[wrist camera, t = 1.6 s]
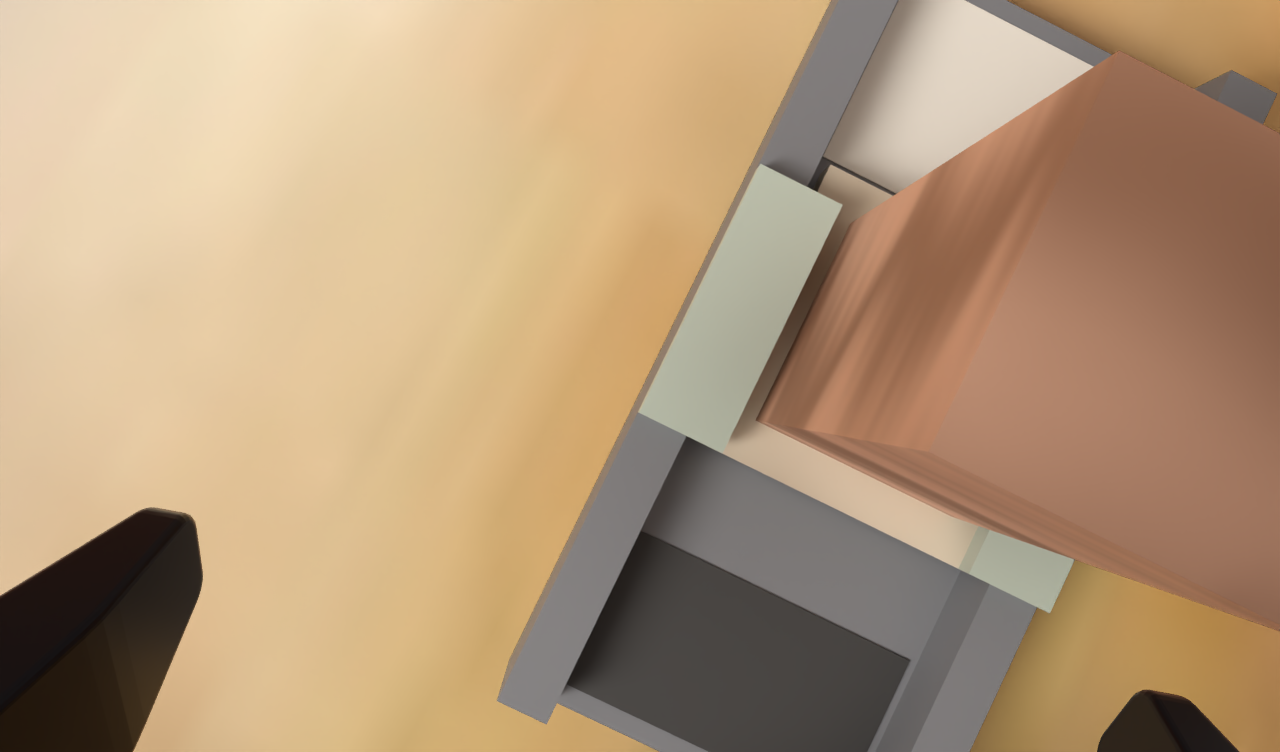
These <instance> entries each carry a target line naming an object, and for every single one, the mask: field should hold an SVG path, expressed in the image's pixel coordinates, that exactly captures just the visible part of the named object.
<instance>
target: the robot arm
mask: <svg viewBox="0 0 1280 752" xmlns="http://www.w3.org/2000/svg"><path fill="white" fill-rule="evenodd" d="M202 580H203V571H202V564H201V556H200V549H199V542H198V535H197V528H196V524H195V521H194V519H193V518H192V517H191V516H190V515H188V514H186V513H182V512H177V511H171V510H166V509H160V508H151V507H150V508H145V509H143V510H140V511H138V512H136V513H134V514H133V515H131V516H130V517H128V518H126V519H125V520H123V521H121V522H120V523H118V524H116V525H115V526H113V527H112V528H110V529H108V530H107V531H105V532H103V533H102V534H100V535H99V536H97V537H95V538H94V539H92V540H90V541H89V542H87V543H85V544H84V545H82V546H81V547H79V548H77V549H76V550H74V551H72V552H71V553H69V554H68V555H66V556H64V557H63V558H61V559H59V560H58V561H56V562H54V563H53V564H51V565H50V566H48V567H46V568H45V569H43V570H41V571H40V572H38V573H37V574H35V575H33V576H32V577H30V578H28V579H27V580H25V581H23V582H22V583H20V584H19V585H17V586H15V587H14V588H12V589H10V590H9V591H7V592H6V593H4V594H2V595H1V596H0V752H133V751H134V749H135V747H136V744H137V742H138V740H139V738H140V735H141V733H142V731H143V729H144V726H145V724H146V722H147V719H148V717H149V715H150V712H151V710H152V708H153V705H154V703H155V700H156V698H157V696H158V693H159V691H160V688H161V686H162V684H163V681H164V679H165V677H166V674H167V672H168V669H169V667H170V665H171V662H172V660H173V657H174V655H175V653H176V650H177V648H178V646H179V643H180V641H181V638H182V636H183V634H184V631H185V629H186V626H187V624H188V622H189V619H190V617H191V615H192V612H193V610H194V607H195V605H196V603H197V600H198V597H199V594H200V591H201V587H202ZM1097 752H1239V751H1238V750H1237V749H1236V748H1235V747H1234V746H1233V745H1232V743H1231V742H1230V741H1229V740H1228V739H1227V738H1226V737H1225V736H1224V735H1223V734H1222V733H1221V732H1220V731H1219V730H1218V729H1217V728H1216V727H1215V726H1214V725H1213V723H1212V722H1211V721H1210V720H1209V719H1208V718H1207V717H1206V716H1205V715H1204V714H1203V713H1202V712H1201V711H1200V710H1199V709H1198V708H1197V707H1196V706H1195V705H1194V704H1193V703H1192V702H1191V701H1189V700H1188V699H1186V698H1184V697H1182V696H1179V695H1174V694H1169V693H1163V692H1158V691H1153V690H1142V691H1140V692H1137V693H1136V694H1135V695H1134V696H1133V697H1132V698H1131V699H1130V700H1129V702H1128V703H1127V704H1126V705H1125V707H1124V708H1123V709H1122V711H1121V712H1120V713H1119V714H1118V716H1117V717H1116V718H1115V720H1114V721H1113V722H1112V723H1111V725H1110V726H1109V727H1108V729H1107V730H1106V731H1105V732H1104V734H1103V735H1102V737H1101V740H1100V742H1099V745H1098V750H1097Z"/></svg>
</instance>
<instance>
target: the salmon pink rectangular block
mask: <svg viewBox="0 0 1280 752" xmlns="http://www.w3.org/2000/svg"><path fill="white" fill-rule="evenodd" d="M813 190H814V191H816V192H818V193H820V194H822V195H824V196H826V197H828V198H830V199H832V200H834V201H836V202H838V203H840V204H842V207H841V209H840V212H839V214H838V216H837V218H836V220H835V222H834V224H833V226H832V228H831V230H830V232H829V234H828V236H827V238H826V241H825V243H824V245H823V247H822V249H821V251H820V253H819V255H818V257H817V259H816V261H815V263H814V265H813V267H812V269H811V272H810V274H809V276H808V278H807V280H806V282H805V284H804V286H803V288H802V290H801V292H800V294H799V296H798V298H797V300H796V303H795V305H794V307H793V309H792V311H791V313H790V315H789V317H788V319H787V321H786V323H785V325H784V327H783V329H782V332H781V334H780V336H779V338H778V340H777V342H776V344H775V346H774V348H773V350H772V352H771V354H770V356H769V358H768V360H767V363H766V365H765V367H764V369H763V371H762V373H761V375H760V377H759V379H758V381H757V383H756V385H755V387H754V389H753V391H752V394H751V396H750V398H749V400H748V402H747V404H746V406H745V408H744V410H743V412H742V414H741V416H740V418H739V420H738V423H737V425H736V427H735V429H734V431H733V433H732V435H731V437H730V439H729V441H728V443H727V445H726V447H725V449H724V451H723V453H722V454H724V455H726V456H728V457H730V458H732V459H735V460H737V461H739V462H741V463H743V464H745V465H747V466H749V467H751V468H753V469H755V470H757V471H759V472H761V473H763V474H765V475H767V476H769V477H771V478H773V479H775V480H778V481H780V482H782V483H784V484H786V485H788V486H790V487H792V488H794V489H796V490H798V491H800V492H802V493H804V494H806V495H808V496H810V497H812V498H814V499H816V500H818V501H820V502H823V503H825V504H827V505H829V506H831V507H833V508H835V509H837V510H839V511H841V512H843V513H845V514H847V515H849V516H851V517H853V518H855V519H857V520H859V521H861V522H863V523H866V524H868V525H870V526H872V527H874V528H876V529H878V530H880V531H882V532H884V533H886V534H888V535H890V536H892V537H894V538H896V539H898V540H900V541H902V542H904V543H906V544H908V545H911V546H913V547H915V548H917V549H919V550H921V551H923V552H925V553H927V554H929V555H931V556H933V557H935V558H937V559H939V560H941V561H943V562H945V563H947V564H949V565H951V566H954V567H956V568H958V569H959V567H960V564H961V562H962V560H963V558H964V556H965V554H966V552H967V550H968V547H969V545H970V543H971V541H972V539H973V537H974V535H975V533H976V530H977V528H978V526H980V527H983V528H986V529H988V530H991V531H994V532H997V533H1000V534H1003V535H1006V536H1009V537H1011V538H1014V539H1017V540H1020V541H1023V542H1026V543H1029V544H1031V545H1034V546H1037V547H1040V548H1043V549H1046V550H1049V551H1051V552H1054V553H1057V554H1060V555H1063V556H1066V557H1069V558H1072V559H1074V560H1077V561H1080V562H1083V563H1086V564H1089V565H1092V566H1094V567H1097V568H1100V569H1103V570H1106V571H1109V572H1112V573H1114V574H1117V575H1120V576H1123V577H1126V578H1129V579H1132V580H1135V581H1137V582H1140V583H1143V584H1146V585H1149V586H1152V587H1155V588H1157V589H1160V590H1163V591H1166V592H1169V593H1172V594H1175V595H1177V596H1180V597H1183V598H1186V599H1189V600H1192V601H1195V602H1198V603H1200V604H1203V605H1206V606H1209V607H1212V608H1215V609H1218V610H1220V611H1223V612H1226V613H1229V614H1232V615H1235V616H1238V617H1240V618H1243V619H1246V620H1249V621H1252V622H1255V623H1258V624H1261V625H1263V626H1266V627H1269V628H1272V629H1275V630H1278V631H1280V133H1278V132H1276V131H1274V130H1272V129H1270V128H1268V127H1267V126H1265V125H1263V124H1261V123H1259V122H1257V121H1255V120H1253V119H1251V118H1249V117H1247V116H1245V115H1243V114H1241V113H1239V112H1237V111H1236V110H1234V109H1232V108H1230V107H1228V106H1226V105H1224V104H1222V103H1220V102H1218V101H1216V100H1214V99H1212V98H1210V97H1208V96H1207V95H1205V94H1203V93H1201V92H1199V91H1197V90H1195V89H1193V88H1191V87H1189V86H1187V85H1185V84H1183V83H1181V82H1179V81H1177V80H1176V79H1174V78H1172V77H1170V76H1168V75H1166V74H1164V73H1162V72H1160V71H1158V70H1156V69H1154V68H1152V67H1150V66H1148V65H1146V64H1145V63H1143V62H1141V61H1139V60H1137V59H1135V58H1133V57H1131V56H1129V55H1127V54H1125V53H1123V52H1121V51H1118V52H1116V53H1115V54H1113V55H1111V56H1110V57H1108V58H1107V59H1105V60H1104V61H1102V62H1101V63H1099V64H1097V65H1096V66H1094V67H1093V68H1091V69H1090V70H1088V71H1087V72H1085V73H1083V74H1082V75H1080V76H1079V77H1077V78H1076V79H1074V80H1073V81H1071V82H1069V83H1068V84H1066V85H1065V86H1063V87H1062V88H1060V89H1059V90H1057V91H1055V92H1054V93H1052V94H1051V95H1049V96H1048V97H1046V98H1045V99H1043V100H1041V101H1040V102H1038V103H1037V104H1035V105H1034V106H1032V107H1031V108H1029V109H1028V110H1026V111H1024V112H1023V113H1021V114H1020V115H1018V116H1017V117H1015V118H1014V119H1012V120H1010V121H1009V122H1007V123H1006V124H1004V125H1003V126H1001V127H1000V128H998V129H996V130H995V131H993V132H992V133H990V134H989V135H987V136H986V137H984V138H982V139H981V140H979V141H978V142H976V143H975V144H973V145H972V146H970V147H968V148H967V149H965V150H964V151H962V152H961V153H959V154H958V155H956V156H954V157H953V158H951V159H950V160H948V161H947V162H945V163H944V164H942V165H940V166H939V167H937V168H936V169H934V170H933V171H931V172H930V173H928V174H926V175H925V176H923V177H922V178H920V179H919V180H917V181H916V182H914V183H912V184H911V185H909V186H908V187H906V188H905V189H903V190H902V191H900V192H898V193H897V194H895V195H894V196H892V195H890V194H888V193H886V192H884V191H882V190H880V189H878V188H876V187H874V186H872V185H870V184H868V183H867V182H865V181H863V180H861V179H859V178H857V177H855V176H853V175H851V174H849V173H847V172H845V171H843V170H841V169H839V168H837V167H835V166H833V165H830V166H828V167H827V168H826V169H825V170H824V171H823V172H822V173H821V174H820V176H819V178H818V180H817V182H816V184H815V186H814V188H813Z"/></svg>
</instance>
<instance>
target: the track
mask: <svg viewBox="0 0 1280 752" xmlns="http://www.w3.org/2000/svg"><path fill="white" fill-rule="evenodd" d="M1110 56H1111V54H1109V53H1107V52H1106V51H1104V50H1102V49H1100V48H1098V47H1096V46H1094V45H1092V44H1090V43H1088V42H1086V41H1084V40H1082V39H1080V38H1078V37H1076V36H1075V35H1073V34H1071V33H1069V32H1067V31H1065V30H1063V29H1061V28H1059V27H1057V26H1055V25H1053V24H1051V23H1049V22H1047V21H1045V20H1043V19H1042V18H1040V17H1038V16H1036V15H1034V14H1032V13H1030V12H1028V11H1026V10H1024V9H1022V8H1020V7H1018V6H1016V5H1014V4H1012V3H1011V2H1009V1H1007V0H831V2H830V4H829V6H828V8H827V10H826V12H825V14H824V16H823V18H822V20H821V22H820V24H819V26H818V29H817V31H816V33H815V35H814V37H813V39H812V41H811V43H810V45H809V47H808V49H807V51H806V53H805V55H804V57H803V59H802V61H801V63H800V65H799V67H798V69H797V72H796V74H795V76H794V78H793V80H792V82H791V84H790V86H789V88H788V90H787V92H786V94H785V96H784V98H783V100H782V102H781V104H780V106H779V108H778V110H777V113H776V115H775V117H774V119H773V121H772V123H771V125H770V127H769V129H768V131H767V133H766V135H765V137H764V139H763V141H762V143H761V145H760V147H759V149H758V151H757V153H756V156H755V158H754V160H753V162H752V164H751V166H750V168H749V170H748V172H747V174H746V176H745V178H744V180H743V182H742V184H741V186H740V188H739V190H738V192H737V194H736V196H735V199H734V201H733V203H732V205H731V207H730V209H729V211H728V213H727V215H726V217H725V219H724V221H723V223H722V225H721V227H720V229H719V231H718V233H717V235H716V237H715V240H714V242H713V244H712V246H711V248H710V250H709V252H708V254H707V256H706V258H705V260H704V262H703V264H702V266H701V268H700V270H699V272H698V274H697V276H696V278H695V280H694V283H693V285H692V287H691V289H690V291H689V293H688V295H687V297H686V299H685V301H684V303H683V305H682V307H681V309H680V311H679V313H678V315H677V317H676V319H675V321H674V323H673V326H672V328H671V330H670V332H669V334H668V336H667V338H666V340H665V342H664V344H663V346H662V348H661V350H660V352H659V354H658V356H657V358H656V360H655V362H654V364H653V367H652V369H651V371H650V373H649V375H648V377H647V379H646V381H645V383H644V385H643V387H642V389H641V391H640V393H639V395H638V397H637V399H636V401H635V403H634V405H633V407H632V410H631V412H630V414H629V416H628V418H627V420H626V422H625V424H624V426H623V428H622V430H621V432H620V434H619V436H618V438H617V440H616V442H615V444H614V446H613V448H612V450H611V453H610V455H609V457H608V459H607V461H606V463H605V465H604V467H603V469H602V471H601V473H600V475H599V477H598V479H597V481H596V483H595V485H594V487H593V489H592V491H591V494H590V496H589V498H588V500H587V502H586V504H585V506H584V508H583V510H582V512H581V514H580V516H579V518H578V520H577V522H576V524H575V526H574V528H573V530H572V532H571V534H570V537H569V539H568V541H567V543H566V545H565V547H564V549H563V551H562V553H561V555H560V557H559V559H558V561H557V563H556V565H555V567H554V569H553V571H552V573H551V575H550V577H549V580H548V582H547V584H546V586H545V588H544V590H543V592H542V594H541V596H540V598H539V600H538V602H537V604H536V606H535V608H534V610H533V612H532V614H531V616H530V618H529V621H528V623H527V625H526V627H525V629H524V631H523V633H522V635H521V637H520V639H519V641H518V643H517V645H516V647H515V649H514V651H513V653H512V655H511V657H510V659H509V662H508V666H507V669H506V672H505V676H504V679H503V682H502V686H501V689H500V692H499V696H498V699H497V701H498V702H500V703H502V704H504V705H507V706H509V707H511V708H513V709H515V710H517V711H519V712H521V713H524V714H526V715H528V716H530V717H532V718H534V719H536V720H538V721H540V722H543V723H545V724H547V722H548V720H549V718H550V716H551V714H552V712H553V710H554V708H555V706H556V704H557V703H558V704H560V705H562V706H565V707H567V708H569V709H571V710H573V711H575V712H577V713H579V714H581V715H584V716H586V717H588V718H590V719H592V720H594V721H596V722H598V723H600V724H603V725H605V726H607V727H609V728H611V729H613V730H615V731H617V732H619V733H622V734H624V735H626V736H628V737H630V738H632V739H634V740H636V741H638V742H641V743H643V744H645V745H647V746H649V747H651V748H653V749H655V750H657V751H660V752H970V750H971V748H972V746H973V743H974V741H975V739H976V737H977V735H978V733H979V731H980V728H981V726H982V724H983V722H984V720H985V718H986V716H987V713H988V711H989V709H990V707H991V705H992V703H993V701H994V698H995V696H996V694H997V692H998V690H999V688H1000V686H1001V683H1002V681H1003V679H1004V677H1005V675H1006V673H1007V671H1008V669H1009V666H1010V664H1011V662H1012V660H1013V658H1014V656H1015V654H1016V651H1017V649H1018V647H1019V645H1020V643H1021V641H1022V639H1023V636H1024V634H1025V632H1026V630H1027V628H1028V626H1029V624H1030V621H1031V619H1032V617H1033V615H1034V613H1035V611H1036V609H1037V607H1038V608H1040V609H1042V610H1044V611H1046V612H1048V613H1050V612H1051V610H1052V608H1053V606H1054V603H1055V601H1056V599H1057V597H1058V595H1059V593H1060V591H1061V588H1062V586H1063V584H1064V582H1065V580H1066V578H1067V576H1068V573H1069V571H1070V569H1071V567H1072V565H1073V563H1074V561H1075V560H1074V559H1072V558H1069V557H1066V556H1063V555H1060V554H1057V553H1054V552H1051V551H1049V550H1046V549H1043V548H1040V547H1037V546H1034V545H1031V544H1029V543H1026V542H1023V541H1020V540H1017V539H1014V538H1011V537H1009V536H1006V535H1003V534H1000V533H997V532H994V531H991V530H988V529H986V528H983V527H980V526H978V528H977V530H976V533H975V535H974V537H973V539H972V541H971V543H970V545H969V547H968V550H967V552H966V554H965V556H964V558H963V560H962V562H961V564H960V567H959V569H958V568H956V567H954V566H951V565H949V564H947V563H945V562H943V561H941V560H939V559H937V558H935V557H933V556H931V555H929V554H927V553H925V552H923V551H921V550H919V549H917V548H915V547H913V546H911V545H908V544H906V543H904V542H902V541H900V540H898V539H896V538H894V537H892V536H890V535H888V534H886V533H884V532H882V531H880V530H878V529H876V528H874V527H872V526H870V525H868V524H866V523H863V522H861V521H859V520H857V519H855V518H853V517H851V516H849V515H847V514H845V513H843V512H841V511H839V510H837V509H835V508H833V507H831V506H829V505H827V504H825V503H823V502H820V501H818V500H816V499H814V498H812V497H810V496H808V495H806V494H804V493H802V492H800V491H798V490H796V489H794V488H792V487H790V486H788V485H786V484H784V483H782V482H780V481H778V480H775V479H773V478H771V477H769V476H767V475H765V474H763V473H761V472H759V471H757V470H755V469H753V468H751V467H749V466H747V465H745V464H743V463H741V462H739V461H737V460H735V459H732V458H730V457H728V456H726V455H724V454H722V453H723V451H724V449H725V447H726V445H727V443H728V441H729V439H730V437H731V435H732V433H733V431H734V429H735V427H736V425H737V423H738V420H739V418H740V416H741V414H742V412H743V410H744V408H745V406H746V404H747V402H748V400H749V398H750V396H751V394H752V391H753V389H754V387H755V385H756V383H757V381H758V379H759V377H760V375H761V373H762V371H763V369H764V367H765V365H766V363H767V360H768V358H769V356H770V354H771V352H772V350H773V348H774V346H775V344H776V342H777V340H778V338H779V336H780V334H781V332H782V329H783V327H784V325H785V323H786V321H787V319H788V317H789V315H790V313H791V311H792V309H793V307H794V305H795V303H796V300H797V298H798V296H799V294H800V292H801V290H802V288H803V286H804V284H805V282H806V280H807V278H808V276H809V274H810V272H811V269H812V267H813V265H814V263H815V261H816V259H817V257H818V255H819V253H820V251H821V249H822V247H823V245H824V243H825V241H826V238H827V236H828V234H829V232H830V230H831V228H832V226H833V224H834V222H835V220H836V218H837V216H838V214H839V212H840V209H841V207H842V204H840V203H838V202H836V201H834V200H832V199H830V198H828V197H826V196H824V195H822V194H820V193H818V192H816V191H814V190H813V188H814V186H815V184H816V182H817V180H818V178H819V176H820V174H821V173H822V172H823V171H824V170H825V169H826V168H827V167H828V166H830V165H833V166H835V167H837V168H839V169H841V170H843V171H845V172H847V173H849V174H851V175H853V176H855V177H857V178H859V179H861V180H863V181H865V182H867V183H868V184H870V185H872V186H874V187H876V188H878V189H880V190H882V191H884V192H886V193H888V194H890V195H892V196H894V195H895V194H897V193H898V192H900V191H902V190H903V189H905V188H906V187H908V186H909V185H911V184H912V183H914V182H916V181H917V180H919V179H920V178H922V177H923V176H925V175H926V174H928V173H930V172H931V171H933V170H934V169H936V168H937V167H939V166H940V165H942V164H944V163H945V162H947V161H948V160H950V159H951V158H953V157H954V156H956V155H958V154H959V153H961V152H962V151H964V150H965V149H967V148H968V147H970V146H972V145H973V144H975V143H976V142H978V141H979V140H981V139H982V138H984V137H986V136H987V135H989V134H990V133H992V132H993V131H995V130H996V129H998V128H1000V127H1001V126H1003V125H1004V124H1006V123H1007V122H1009V121H1010V120H1012V119H1014V118H1015V117H1017V116H1018V115H1020V114H1021V113H1023V112H1024V111H1026V110H1028V109H1029V108H1031V107H1032V106H1034V105H1035V104H1037V103H1038V102H1040V101H1041V100H1043V99H1045V98H1046V97H1048V96H1049V95H1051V94H1052V93H1054V92H1055V91H1057V90H1059V89H1060V88H1062V87H1063V86H1065V85H1066V84H1068V83H1069V82H1071V81H1073V80H1074V79H1076V78H1077V77H1079V76H1080V75H1082V74H1083V73H1085V72H1087V71H1088V70H1090V69H1091V68H1093V67H1094V66H1096V65H1097V64H1099V63H1101V62H1102V61H1104V60H1105V59H1107V58H1108V57H1110ZM1195 90H1197V91H1199V92H1201V93H1203V94H1205V95H1207V96H1208V97H1210V98H1212V99H1214V100H1216V101H1218V102H1220V103H1222V104H1224V105H1226V106H1228V107H1230V108H1232V109H1234V110H1236V111H1237V112H1239V113H1241V114H1243V115H1245V116H1247V117H1249V118H1251V119H1253V120H1255V121H1257V122H1259V123H1261V124H1263V123H1264V121H1265V119H1266V117H1267V115H1268V112H1269V110H1270V108H1271V106H1272V104H1273V102H1274V100H1275V97H1276V95H1277V93H1275V92H1273V91H1271V90H1269V89H1267V88H1265V87H1263V86H1261V85H1259V84H1257V83H1255V82H1254V81H1252V80H1250V79H1248V78H1246V77H1244V76H1242V75H1240V74H1238V73H1236V72H1234V71H1232V70H1231V71H1229V72H1227V73H1225V74H1223V75H1221V76H1219V77H1217V78H1215V79H1213V80H1211V81H1209V82H1207V83H1205V84H1203V85H1201V86H1199V87H1197V88H1195Z"/></svg>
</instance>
